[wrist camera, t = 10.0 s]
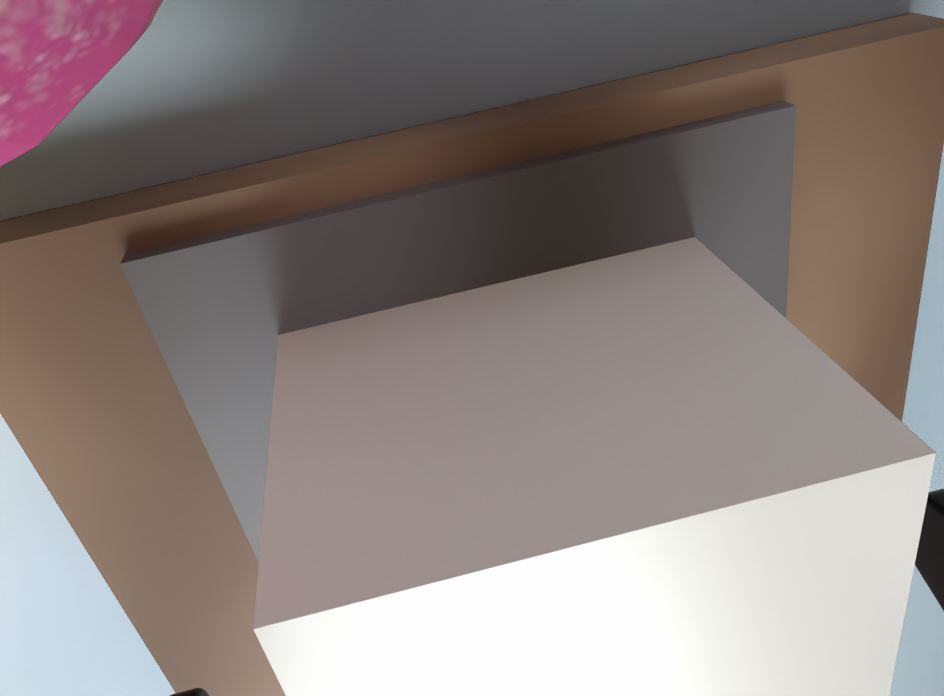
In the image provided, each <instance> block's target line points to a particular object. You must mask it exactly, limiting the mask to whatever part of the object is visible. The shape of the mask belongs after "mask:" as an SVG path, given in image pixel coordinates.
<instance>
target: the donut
mask: <svg viewBox="0 0 944 696" xmlns="http://www.w3.org/2000/svg"><path fill="white" fill-rule="evenodd" d="M162 1H163V0H0V167H1V166H2V165H4V164H6V163H8V162H10V161H11V160H13V159H15V158H17V157H18V156H20V155H22V154H24V153H25V152H27V151H29V150H31V149H33V148H34V147H36V146H38V145H39V144H40V143H41V142H42V141H43V140H44V139H45V137H46V136H47V135H48V134H49V133H50V132H51V131H52V130H53V129H54V128H55V127H56V126H57V125H58V124H59V123H60V122H61V121H62V120H63V119H64V118H65V117H66V116H67V114H68V113H69V112H70V111H71V110H72V109H73V108H74V107H75V106H76V105H77V104H78V103H79V102H80V101H81V100H82V99H83V98H84V97H85V96H86V95H87V94H88V93H89V92H90V90H91V89H92V88H93V87H94V86H95V85H96V84H97V83H98V82H99V81H100V80H101V79H102V78H103V77H104V76H105V75H106V74H107V73H108V72H109V71H110V70H111V69H112V67H113V66H114V65H115V64H116V63H117V62H118V61H119V60H120V59H121V58H122V57H123V56H124V55H125V54H126V53H127V52H128V51H129V50H130V49H131V48H132V46H133V45H134V44H135V43H136V42H137V40H138V39H139V38H140V37H141V35H142V34H143V33H144V32H145V31H146V29H147V28H148V27H149V25H150V24H151V22H152V20H153V18H154V16H155V14H156V12H157V10H158V8H159V6H160V5H161V3H162Z"/></svg>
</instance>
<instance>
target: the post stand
mask: <svg viewBox="0 0 944 696" xmlns="http://www.w3.org/2000/svg"><path fill="white" fill-rule="evenodd" d="M943 143H944V19H941V18H936V17H931V16H926V15H921V14H915V13H910V14H906V15H901V16H897V17H892V18H888V19H884V20H879V21H875V22H871V23H866V24H862V25H857V26H853V27H849V28H844V29H840V30H836V31H831V32H827V33H822V34H818V35H814V36H809V37H805V38H801V39H796V40H792V41H787V42H783V43H779V44H774V45H770V46H766V47H761V48H757V49H752V50H748V51H744V52H739V53H735V54H731V55H726V56H722V57H717V58H713V59H709V60H704V61H700V62H696V63H691V64H687V65H682V66H678V67H674V68H669V69H665V70H661V71H656V72H652V73H647V74H643V75H639V76H634V77H630V78H626V79H621V80H617V81H612V82H608V83H604V84H599V85H595V86H591V87H586V88H582V89H577V90H573V91H569V92H564V93H560V94H556V95H551V96H547V97H543V98H538V99H534V100H529V101H525V102H521V103H516V104H512V105H508V106H503V107H499V108H494V109H490V110H486V111H481V112H477V113H473V114H468V115H464V116H459V117H455V118H451V119H446V120H442V121H438V122H433V123H429V124H424V125H420V126H416V127H411V128H407V129H403V130H398V131H394V132H389V133H385V134H381V135H376V136H372V137H368V138H363V139H359V140H354V141H350V142H346V143H341V144H337V145H333V146H328V147H324V148H319V149H315V150H311V151H306V152H302V153H298V154H293V155H289V156H284V157H280V158H276V159H271V160H267V161H263V162H258V163H254V164H249V165H245V166H241V167H236V168H232V169H228V170H223V171H219V172H214V173H210V174H206V175H201V176H197V177H193V178H188V179H184V180H179V181H175V182H171V183H166V184H162V185H158V186H153V187H149V188H144V189H140V190H136V191H131V192H127V193H123V194H118V195H114V196H109V197H105V198H101V199H96V200H92V201H88V202H83V203H79V204H74V205H70V206H66V207H61V208H57V209H53V210H48V211H44V212H39V213H35V214H31V215H26V216H22V217H18V218H13V219H9V220H4V221H0V413H1V415H2V417H3V418H4V420H5V421H6V423H7V425H8V426H9V428H10V429H11V431H12V432H13V434H14V436H15V437H16V439H17V440H18V442H19V444H20V445H21V447H22V448H23V450H24V452H25V453H26V455H27V456H28V458H29V460H30V461H31V463H32V464H33V466H34V468H35V469H36V471H37V472H38V474H39V476H40V477H41V479H42V480H43V482H44V484H45V485H46V487H47V488H48V490H49V491H50V493H51V495H52V496H53V498H54V499H55V501H56V503H57V504H58V506H59V507H60V509H61V511H62V512H63V514H64V515H65V517H66V519H67V520H68V522H69V523H70V525H71V527H72V528H73V530H74V531H75V533H76V535H77V536H78V538H79V539H80V541H81V543H82V544H83V546H84V547H85V549H86V550H87V552H88V554H89V555H90V557H91V558H92V560H93V562H94V563H95V565H96V566H97V568H98V570H99V571H100V573H101V574H102V576H103V578H104V579H105V581H106V582H107V584H108V586H109V587H110V589H111V590H112V592H113V594H114V595H115V597H116V598H117V600H118V602H119V603H120V605H121V606H122V608H123V609H124V611H125V613H126V614H127V616H128V617H129V619H130V621H131V622H132V624H133V625H134V627H135V629H136V630H137V632H138V633H139V635H140V637H141V638H142V640H143V641H144V643H145V645H146V646H147V648H148V649H149V651H150V653H151V654H152V656H153V657H154V659H155V661H156V662H157V664H158V665H159V667H160V669H161V670H162V672H163V673H164V675H165V676H166V678H167V680H168V681H169V683H170V684H171V686H172V688H173V689H174V691H175V692H176V693H179V692H183V691H187V690H190V689H194V688H202V689H204V690H206V692H207V693H208V694H209V696H286V695H285V693H284V691H283V689H282V687H281V685H280V683H279V681H278V679H277V677H276V675H275V673H274V671H273V669H272V666H271V664H270V662H269V660H268V658H267V656H266V654H265V652H264V650H263V648H262V646H261V644H260V642H259V640H258V638H257V636H256V634H255V632H254V630H253V627H254V615H255V603H256V591H257V580H258V568H259V556H260V544H261V532H262V521H263V509H264V497H265V485H266V473H267V462H268V450H269V438H270V426H271V414H272V402H273V391H274V379H275V367H276V355H277V343H278V335H280V334H284V333H289V332H293V331H297V330H301V329H306V328H310V327H314V326H318V325H323V324H327V323H331V322H335V321H340V320H344V319H348V318H352V317H357V316H361V315H365V314H369V313H374V312H378V311H382V310H387V309H391V308H395V307H399V306H404V305H408V304H412V303H416V302H421V301H425V300H429V299H433V298H438V297H442V296H446V295H450V294H455V293H459V292H463V291H467V290H472V289H476V288H480V287H484V286H489V285H493V284H497V283H501V282H506V281H510V280H514V279H518V278H523V277H527V276H531V275H535V274H540V273H544V272H548V271H552V270H557V269H561V268H565V267H570V266H574V265H578V264H582V263H587V262H591V261H595V260H599V259H604V258H608V257H612V256H616V255H621V254H625V253H629V252H633V251H638V250H642V249H646V248H650V247H655V246H659V245H663V244H667V243H672V242H676V241H680V240H684V239H689V238H693V237H695V238H696V239H698V240H699V241H700V242H701V243H702V244H703V245H704V246H705V247H707V248H708V249H709V250H710V251H711V252H712V253H713V254H714V255H715V256H717V257H718V258H719V259H720V260H721V261H722V262H723V263H724V264H726V265H727V266H728V267H729V268H730V269H731V270H732V271H733V272H735V273H736V274H737V275H738V276H739V277H740V278H741V279H742V280H743V281H745V282H746V283H747V284H748V285H749V286H750V287H751V288H752V289H754V290H755V291H756V292H757V293H758V294H759V295H760V296H761V297H762V298H764V299H765V300H766V301H767V302H768V303H769V304H770V305H771V306H773V307H774V308H775V309H776V310H777V311H778V312H779V313H780V314H781V315H783V316H784V317H785V318H786V319H787V320H788V321H789V322H790V323H792V324H793V325H794V326H795V327H796V328H797V329H798V330H799V331H800V332H802V333H803V334H804V335H805V336H806V337H807V338H808V339H809V340H811V341H812V342H813V343H814V344H815V345H816V346H817V347H818V348H819V349H821V350H822V351H823V352H824V353H825V354H826V355H827V356H828V357H830V358H831V359H832V360H833V361H834V362H835V363H836V364H837V365H839V366H840V367H841V368H842V369H843V370H844V371H845V372H846V373H847V374H849V375H850V376H851V377H852V378H853V379H854V380H855V381H856V382H858V383H859V384H860V385H861V386H862V387H863V388H864V389H865V390H866V391H868V392H869V393H870V394H871V395H872V396H873V397H874V398H875V399H877V400H878V401H879V402H880V403H881V404H882V405H883V406H884V407H885V408H887V409H888V410H889V411H890V412H891V413H892V414H893V415H894V416H896V417H897V418H898V419H899V420H900V421H901V422H902V417H903V410H904V403H905V397H906V390H907V383H908V377H909V370H910V363H911V357H912V350H913V343H914V337H915V330H916V323H917V317H918V310H919V303H920V297H921V290H922V283H923V276H924V270H925V263H926V256H927V250H928V243H929V236H930V230H931V223H932V216H933V210H934V203H935V196H936V190H937V183H938V176H939V170H940V163H941V156H942V150H943Z"/></svg>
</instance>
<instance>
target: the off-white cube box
mask: <svg viewBox="0 0 944 696" xmlns="http://www.w3.org/2000/svg"><path fill="white" fill-rule="evenodd" d="M935 457H936V452H935V451H934V450H932V449H931V448H930V447H929V446H928V445H927V444H926V443H925V442H923V441H922V440H921V439H920V438H919V437H918V436H917V435H916V434H915V433H913V432H912V431H911V430H910V429H909V428H908V427H907V426H906V425H904V424H903V423H902V422H901V421H900V420H899V419H898V418H897V417H896V416H894V415H893V414H892V413H891V412H890V411H889V410H888V409H887V408H885V407H884V406H883V405H882V404H881V403H880V402H879V401H878V400H877V399H875V398H874V397H873V396H872V395H871V394H870V393H869V392H868V391H866V390H865V389H864V388H863V387H862V386H861V385H860V384H859V383H858V382H856V381H855V380H854V379H853V378H852V377H851V376H850V375H849V374H847V373H846V372H845V371H844V370H843V369H842V368H841V367H840V366H839V365H837V364H836V363H835V362H834V361H833V360H832V359H831V358H830V357H828V356H827V355H826V354H825V353H824V352H823V351H822V350H821V349H819V348H818V347H817V346H816V345H815V344H814V343H813V342H812V341H811V340H809V339H808V338H807V337H806V336H805V335H804V334H803V333H802V332H800V331H799V330H798V329H797V328H796V327H795V326H794V325H793V324H792V323H790V322H789V321H788V320H787V319H786V318H785V317H784V316H783V315H781V314H780V313H779V312H778V311H777V310H776V309H775V308H774V307H773V306H771V305H770V304H769V303H768V302H767V301H766V300H765V299H764V298H762V297H761V296H760V295H759V294H758V293H757V292H756V291H755V290H754V289H752V288H751V287H750V286H749V285H748V284H747V283H746V282H745V281H743V280H742V279H741V278H740V277H739V276H738V275H737V274H736V273H735V272H733V271H732V270H731V269H730V268H729V267H728V266H727V265H726V264H724V263H723V262H722V261H721V260H720V259H719V258H718V257H717V256H715V255H714V254H713V253H712V252H711V251H710V250H709V249H708V248H707V247H705V246H704V245H703V244H702V243H701V242H700V241H699V240H698V239H696V238H695V237H693V238H689V239H684V240H680V241H676V242H672V243H667V244H663V245H659V246H655V247H650V248H646V249H642V250H638V251H633V252H629V253H625V254H621V255H616V256H612V257H608V258H604V259H599V260H595V261H591V262H587V263H582V264H578V265H574V266H570V267H565V268H561V269H557V270H552V271H548V272H544V273H540V274H535V275H531V276H527V277H523V278H518V279H514V280H510V281H506V282H501V283H497V284H493V285H489V286H484V287H480V288H476V289H472V290H467V291H463V292H459V293H455V294H450V295H446V296H442V297H438V298H433V299H429V300H425V301H421V302H416V303H412V304H408V305H404V306H399V307H395V308H391V309H387V310H382V311H378V312H374V313H369V314H365V315H361V316H357V317H352V318H348V319H344V320H340V321H335V322H331V323H327V324H323V325H318V326H314V327H310V328H306V329H301V330H297V331H293V332H289V333H284V334H280V335H278V343H277V355H276V367H275V379H274V391H273V402H272V414H271V426H270V438H269V450H268V462H267V473H266V485H265V497H264V509H263V521H262V532H261V544H260V556H259V568H258V580H257V591H256V603H255V615H254V627H253V630H254V632H255V634H256V636H257V638H258V640H259V642H260V644H261V646H262V648H263V650H264V652H265V654H266V656H267V658H268V660H269V662H270V664H271V666H272V669H273V671H274V673H275V675H276V677H277V679H278V681H279V683H280V685H281V687H282V689H283V691H284V693H285V695H286V696H889V695H890V689H891V684H892V679H893V674H894V669H895V664H896V658H897V653H898V648H899V643H900V638H901V633H902V627H903V622H904V617H905V612H906V607H907V602H908V596H909V591H910V586H911V581H912V576H913V571H914V565H915V560H916V555H917V550H918V545H919V540H920V534H921V529H922V524H923V519H924V514H925V509H926V503H927V498H928V493H929V488H930V483H931V478H932V472H933V467H934V462H935Z"/></svg>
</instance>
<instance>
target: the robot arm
mask: <svg viewBox="0 0 944 696" xmlns="http://www.w3.org/2000/svg"><path fill="white" fill-rule="evenodd" d="M915 566H916V567H917V569H918V570H919V572H920V574H921V575H922V577H923V578H924V580H925V582H926V583H927V585H928V586H929V588H930V589H931V591H932V593H933V594H934V596H935V597H936V599H937V601H938V602H939V604H940V605H941V607H942V609H943V610H944V489H940V490H937V491H933V492H929V493H928V498H927V503H926V509H925V514H924V519H923V524H922V529H921V534H920V540H919V545H918V550H917V555H916V560H915ZM170 696H209V694H208V693H207V692H206V690H204V689H202V688H194V689H190V690H187V691H183V692H179V693H175V694H173V695H170Z"/></svg>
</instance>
